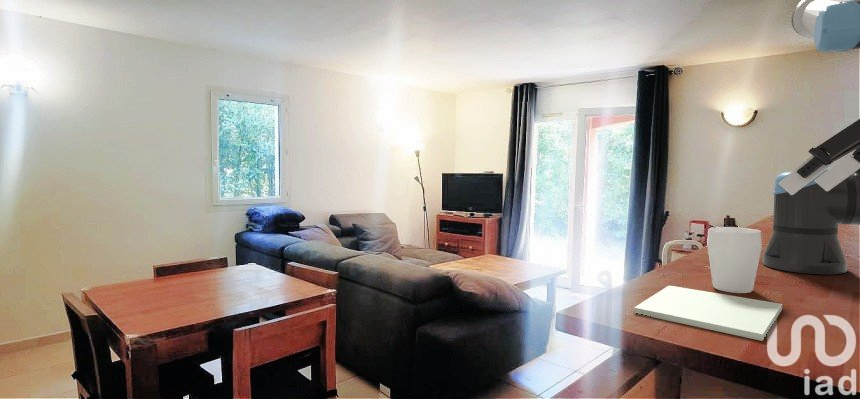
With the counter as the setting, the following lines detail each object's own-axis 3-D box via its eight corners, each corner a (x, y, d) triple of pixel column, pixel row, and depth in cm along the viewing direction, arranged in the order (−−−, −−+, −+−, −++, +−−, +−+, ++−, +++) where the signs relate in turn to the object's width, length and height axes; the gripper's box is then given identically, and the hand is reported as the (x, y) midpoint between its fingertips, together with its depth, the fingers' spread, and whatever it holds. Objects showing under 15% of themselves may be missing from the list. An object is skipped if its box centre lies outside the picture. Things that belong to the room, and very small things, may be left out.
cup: (770, 296, 83) (772, 233, 82) (717, 294, 85) (718, 233, 84) (746, 283, 92) (747, 226, 91) (698, 282, 94) (699, 226, 93)
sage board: (668, 290, 88) (669, 285, 88) (782, 309, 76) (782, 304, 76) (634, 313, 76) (634, 307, 76) (762, 341, 63) (762, 334, 63)
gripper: (938, 95, 54) (787, 208, 68) (988, 105, 66) (852, 199, 80) (880, 61, 58) (750, 174, 72) (938, 76, 70) (816, 170, 84)
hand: (803, 187), depth 76 cm, fingers open, 13 cm apart
